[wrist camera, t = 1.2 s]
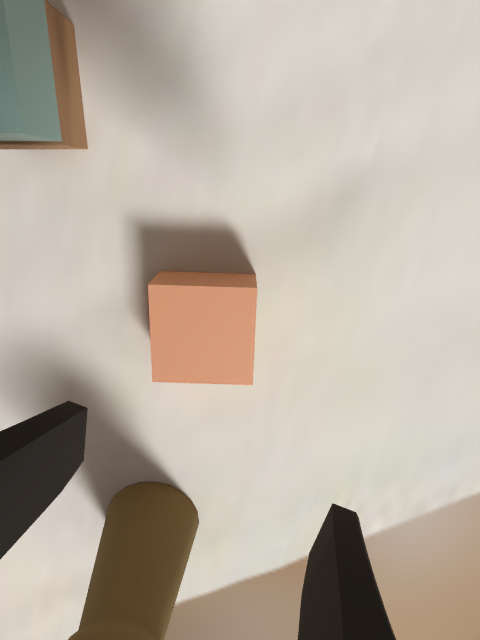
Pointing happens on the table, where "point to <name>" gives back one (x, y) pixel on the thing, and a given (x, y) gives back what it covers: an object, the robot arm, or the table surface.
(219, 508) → the table surface
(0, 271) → the table surface
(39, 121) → the teal slab
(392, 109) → the table surface
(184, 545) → the olive upright rounded piece
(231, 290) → the orange block
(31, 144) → the walnut slab
